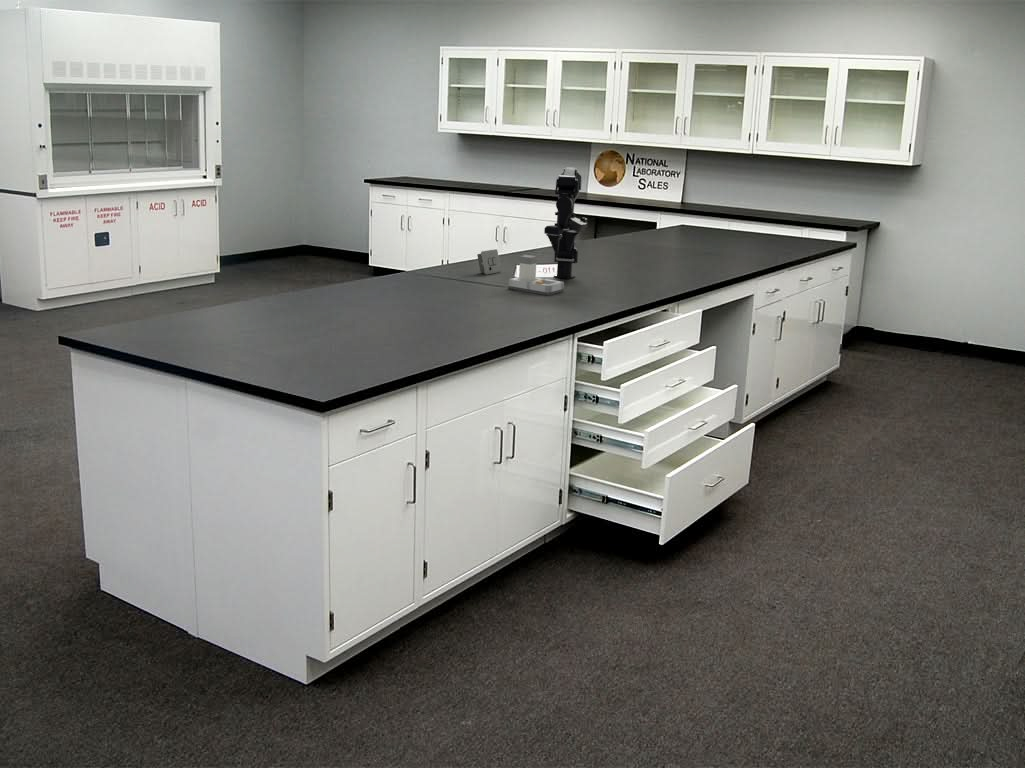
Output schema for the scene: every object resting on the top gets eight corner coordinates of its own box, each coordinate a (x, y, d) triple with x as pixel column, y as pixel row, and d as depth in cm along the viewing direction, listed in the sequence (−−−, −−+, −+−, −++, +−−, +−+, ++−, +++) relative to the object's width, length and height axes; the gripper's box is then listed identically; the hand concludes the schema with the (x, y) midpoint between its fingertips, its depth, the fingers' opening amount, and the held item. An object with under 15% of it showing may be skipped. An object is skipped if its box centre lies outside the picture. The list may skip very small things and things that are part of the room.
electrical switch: (486, 275, 400) (485, 251, 398) (476, 274, 403) (475, 251, 401) (501, 272, 407) (500, 249, 405) (491, 271, 410) (490, 248, 408)
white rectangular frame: (524, 284, 383) (524, 273, 382) (563, 291, 374) (564, 279, 373) (508, 288, 375) (508, 277, 374) (548, 295, 366) (549, 283, 364)
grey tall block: (524, 284, 379) (526, 254, 376) (535, 285, 377) (536, 256, 374) (518, 285, 375) (520, 256, 372) (529, 287, 373) (530, 257, 370)
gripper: (570, 213, 363) (568, 256, 368) (596, 210, 378) (594, 252, 383) (544, 210, 369) (542, 253, 374) (571, 207, 384) (568, 248, 389)
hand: (562, 251), depth 379 cm, fingers open, 9 cm apart
